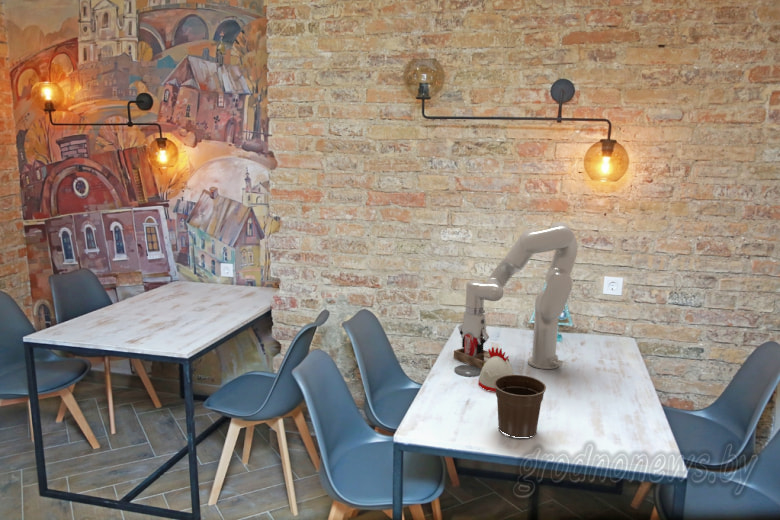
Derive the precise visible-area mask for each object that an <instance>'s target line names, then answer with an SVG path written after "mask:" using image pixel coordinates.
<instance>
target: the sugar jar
mask: <svg viewBox="0 0 780 520" xmlns="http://www.w3.org/2000/svg"><path fill="white" fill-rule="evenodd" d="M490 358H491V357H490V354H489V351H488V352H484V361H485V362H486V361H487V360H488V359H490Z"/></svg>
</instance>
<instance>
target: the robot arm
mask: <svg viewBox="0 0 780 520" xmlns="http://www.w3.org/2000/svg"><path fill="white" fill-rule="evenodd" d="M576 237H577V236H576V235H575V233H574V232H573V230H572V228H571V227H570V226H568V224H567V223H566V222H563V221H558V222H554V223H552V224H551V226H550V227H549V228H548V229H544V230H541V231H537V230H536V229H531V228H529V229H526V230H524V231H523V232H522V233H521V235H520V236H519V238H518V239H517V240H516V242H515V243H514V245H513V246H512V247H511V249H510V250H509V251H508V252H507V254H506V256H505V257H504V258H503V259H502V261H501V262H500V263H499V264H498V265H497V266H496V267H495V269H494V270H493V271H492V273H491V274H490V276H489V277H488V278H487V280H486V281H485V282H484V281H482V280H478V279H473V280H469V281H467V282H466V286H465V287H466V289H465V291H466V292H465V307H464V310H465V311H464V313H463V317H462V323H461V324H460V325H459V326H457V328H458V331H459V334H460V337H461V339H462V341H461V345H462V346H461V348H464V341H465V335H466V334H467V333H468V334H471V335H473V337H475V338H477V341H478V343H479V344H477V353H481V352H483V350H484V344H485V343H487V341H488V339H490V335H489V333H487V322H486V321H487V320H486V315H485V309H484V306H485V303H484V302H485V301H489V302H498V301H501V299H502V298H503V296H504V287H505V286H506V284H507V283H508V282H509V281H510V279H511V278H512V277H513V276H514V275H515V274H516V273H518V272H520V271H522V270H523V269H524V268H525V266H526V265H527V264H528V262H529V261H530V259H531V258H532V257H533V255H535V254H541V253H546V252H550V251H554V254H553V257H552V260H551V263H550V265H549V267H548V270H547V273H546V275H545V283H546V287H545V288H544V290H541V291H540V292H539V293H537V296H536V297H535V301H534V322H533V323H534V324H533V338H532V351H531V352H532V353H531V354H532V355H531V356H530V357H529V358H528V359H527V364H529V365H530V366H531V367H534V368H535V369H540V370H541V369H542V370H554V369H556V368H561V367H562V366H563V363H564V362H563V360H561V359H559V358H558V357H559V356H558V355H557V346H558V345H557V343H558V342H557V341H558V331H559V318H560V317H561V315H562V314H563V312H564V309H565V308H566V305H567V302H568V300H569V297H570V295H571V292H572V288H573V279H572V277H571V274H572V270H573V268H574V264H575V262H576V259H577V255H578V241H577V238H576ZM480 338H481V340H480Z"/></svg>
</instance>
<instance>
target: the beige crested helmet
mask: <svg viewBox="0 0 780 520" xmlns="http://www.w3.org/2000/svg"><path fill="white" fill-rule="evenodd" d="M502 350H503V349H502V348H499V347H496V348H495V347H494V346H492V347H491V349H490V348H488V350H487V351H488V352H489V354H490V357H491V358H490V359H488V360H487V361H486V363H484V366H483V368H482V370H481V373H480V375H478V386H479V385H480V386H481V387H482V388H481V387H480V386H479V387H480V388H481V389H483V388H484V389H483V390H485V389H486V391H487V390H490V391H489V392H491V391H495V392H494V393H496V388H495V386H494V381H495V380H496V379H497V378H499V377H502V376H506V375H515V373H514V369H513V367H512V365H511V364H510V361H509V362H508V361H507V359H509V355H507V356H506V351H505V352H503V351H502ZM505 356H506V357H505Z"/></svg>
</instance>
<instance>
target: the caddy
mask: <svg viewBox="0 0 780 520" xmlns="http://www.w3.org/2000/svg"><path fill="white" fill-rule="evenodd" d="M484 352H489V351H488V350H486V349H483V352H481V354H480V355H477V356H474V357H472V356H470V355H467V354H465V353H464V348H463V347H461V348H458V349H454V350H453V359H454V360H456V361H459V362H461V363H464V364H465V365H472V366H476V367H478V368H480V369H481V370H482V368H483V366H484V363H486V362H485V361H484ZM507 361H508V362H509V363H510V359H509V358H508V359H507Z"/></svg>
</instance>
